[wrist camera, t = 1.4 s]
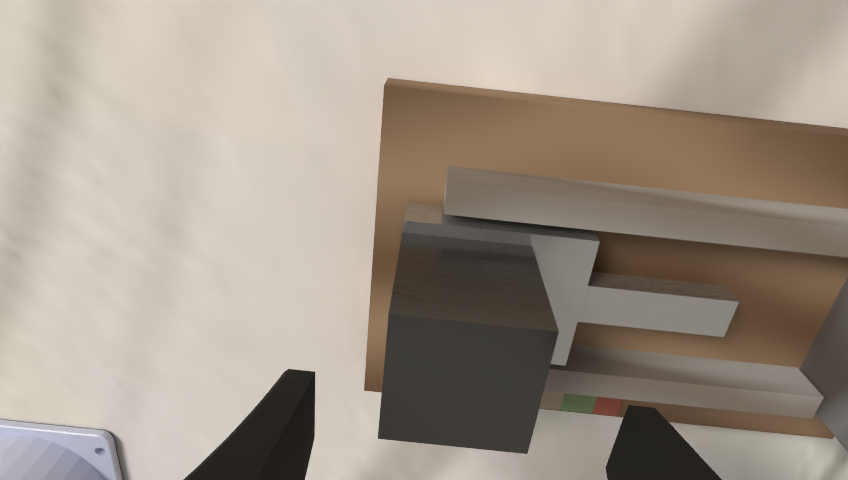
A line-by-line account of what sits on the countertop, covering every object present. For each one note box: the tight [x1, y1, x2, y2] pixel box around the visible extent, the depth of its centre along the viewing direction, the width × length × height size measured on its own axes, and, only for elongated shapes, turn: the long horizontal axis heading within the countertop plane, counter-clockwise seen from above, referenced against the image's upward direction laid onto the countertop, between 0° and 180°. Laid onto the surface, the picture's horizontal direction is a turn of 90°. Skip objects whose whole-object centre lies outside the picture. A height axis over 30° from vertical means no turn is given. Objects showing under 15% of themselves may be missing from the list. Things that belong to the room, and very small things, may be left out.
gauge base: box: [364, 78, 848, 451], centre depth 17 cm, size 12×19×6 cm, turn 84°
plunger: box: [378, 203, 739, 454], centre depth 17 cm, size 8×11×6 cm
